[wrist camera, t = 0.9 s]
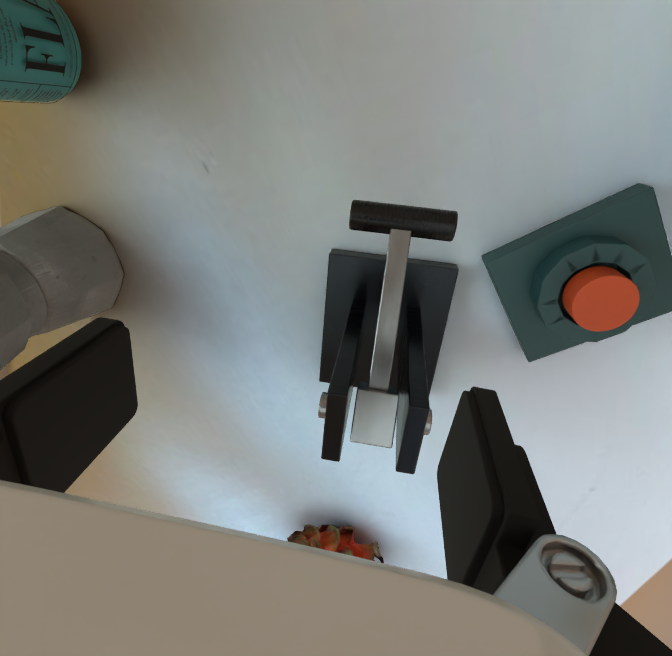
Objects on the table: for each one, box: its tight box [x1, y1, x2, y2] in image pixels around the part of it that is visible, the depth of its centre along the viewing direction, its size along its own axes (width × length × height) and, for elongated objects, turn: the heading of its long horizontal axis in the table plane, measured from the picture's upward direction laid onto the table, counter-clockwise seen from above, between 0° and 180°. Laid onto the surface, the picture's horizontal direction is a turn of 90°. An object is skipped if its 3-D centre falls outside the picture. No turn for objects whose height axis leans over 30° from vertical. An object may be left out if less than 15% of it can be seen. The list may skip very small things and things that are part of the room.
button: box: [562, 266, 640, 331], centre depth 25 cm, size 4×4×2 cm
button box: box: [481, 183, 672, 362], centre depth 27 cm, size 10×8×4 cm
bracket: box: [318, 249, 459, 474], centre depth 27 cm, size 11×9×13 cm
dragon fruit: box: [287, 525, 384, 563], centre depth 41 cm, size 8×8×12 cm
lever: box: [349, 200, 458, 448], centre depth 22 cm, size 13×6×2 cm, turn 176°
